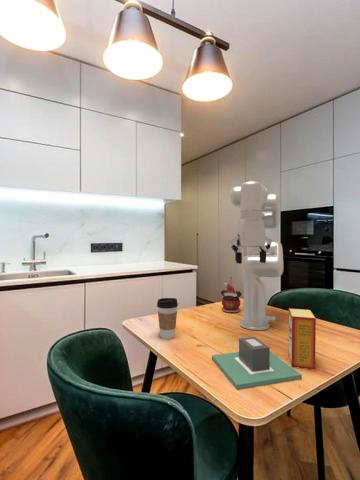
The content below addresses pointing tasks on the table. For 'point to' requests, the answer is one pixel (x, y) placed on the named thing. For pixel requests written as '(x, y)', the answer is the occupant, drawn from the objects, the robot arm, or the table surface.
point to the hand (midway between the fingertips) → (250, 262)
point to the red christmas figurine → (230, 298)
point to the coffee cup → (167, 317)
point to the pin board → (247, 378)
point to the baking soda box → (302, 338)
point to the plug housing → (254, 354)
